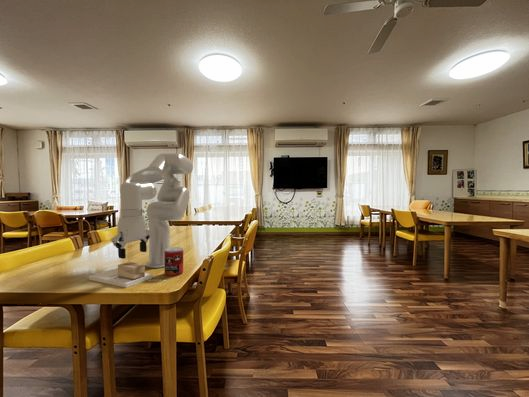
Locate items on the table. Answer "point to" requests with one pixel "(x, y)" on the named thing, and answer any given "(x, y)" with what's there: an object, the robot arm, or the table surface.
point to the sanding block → (131, 270)
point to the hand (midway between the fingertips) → (133, 254)
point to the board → (117, 278)
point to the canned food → (173, 261)
